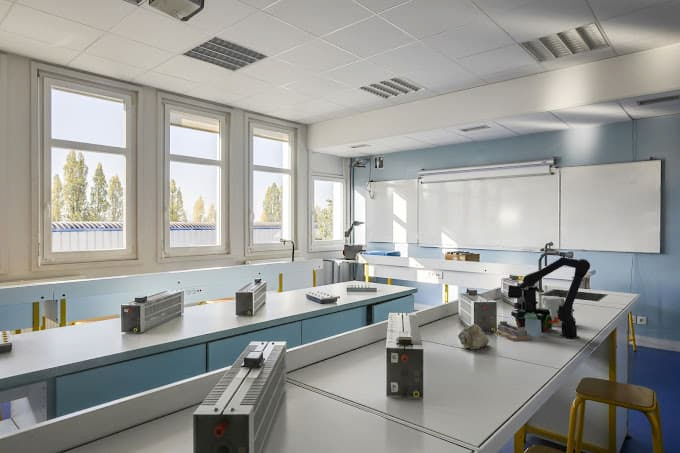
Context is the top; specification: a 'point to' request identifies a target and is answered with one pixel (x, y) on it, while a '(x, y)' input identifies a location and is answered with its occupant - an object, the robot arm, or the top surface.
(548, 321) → the motor
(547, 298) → the circuit breaker
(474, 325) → the lumpy boulder
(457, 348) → the top surface
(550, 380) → the top surface
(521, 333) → the cabinet base
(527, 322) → the cabinet door
